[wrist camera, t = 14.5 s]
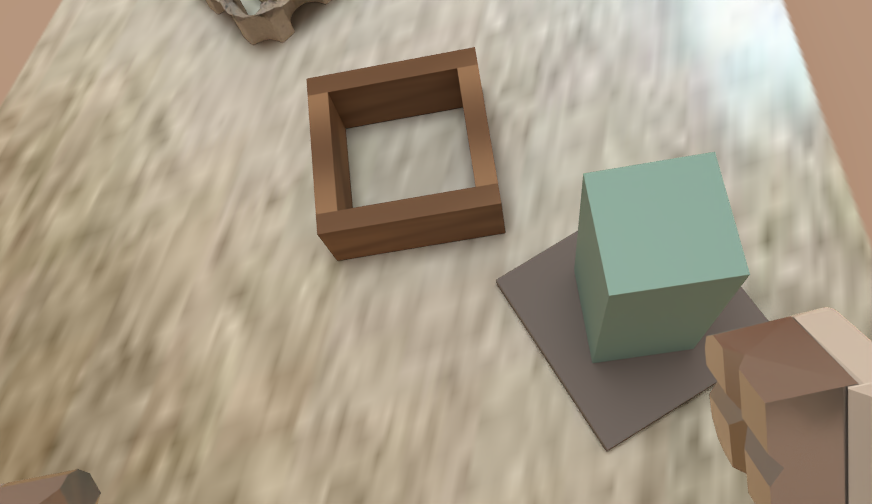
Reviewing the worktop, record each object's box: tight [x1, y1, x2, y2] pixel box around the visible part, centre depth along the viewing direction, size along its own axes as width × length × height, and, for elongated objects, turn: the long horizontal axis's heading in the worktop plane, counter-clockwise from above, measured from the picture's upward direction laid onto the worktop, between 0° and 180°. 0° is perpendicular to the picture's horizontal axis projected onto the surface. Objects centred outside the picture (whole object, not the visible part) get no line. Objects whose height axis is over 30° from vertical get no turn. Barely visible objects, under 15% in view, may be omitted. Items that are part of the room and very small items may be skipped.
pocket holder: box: [307, 47, 505, 261], centre depth 37 cm, size 8×8×4 cm
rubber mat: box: [496, 231, 769, 451], centre depth 34 cm, size 9×9×1 cm
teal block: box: [574, 152, 750, 363], centre depth 29 cm, size 4×4×10 cm
